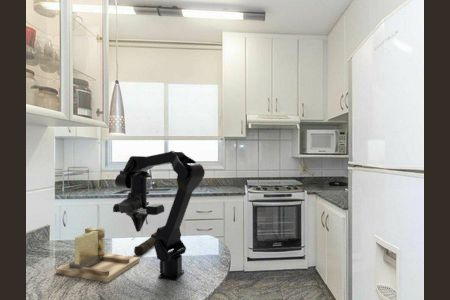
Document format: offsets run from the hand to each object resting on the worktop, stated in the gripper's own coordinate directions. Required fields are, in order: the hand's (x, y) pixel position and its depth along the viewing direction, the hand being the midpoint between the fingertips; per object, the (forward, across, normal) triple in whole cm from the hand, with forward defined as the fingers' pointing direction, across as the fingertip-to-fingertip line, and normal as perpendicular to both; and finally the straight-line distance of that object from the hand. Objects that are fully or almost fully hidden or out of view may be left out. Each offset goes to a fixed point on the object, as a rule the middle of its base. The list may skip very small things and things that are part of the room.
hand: (138, 231), depth 90 cm
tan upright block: (+11, -16, -6) cm, 20 cm away
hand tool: (+13, -7, +16) cm, 22 cm away
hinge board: (+12, -12, -6) cm, 18 cm away
